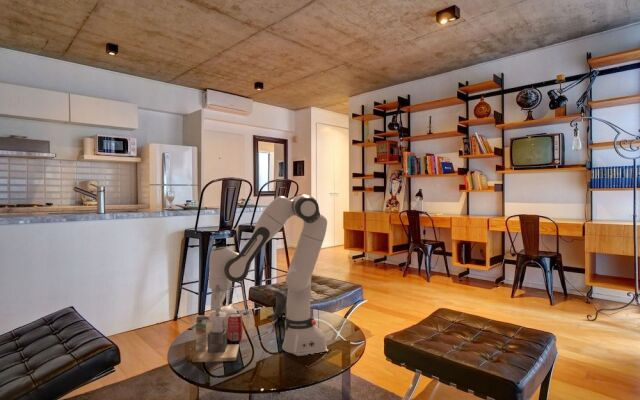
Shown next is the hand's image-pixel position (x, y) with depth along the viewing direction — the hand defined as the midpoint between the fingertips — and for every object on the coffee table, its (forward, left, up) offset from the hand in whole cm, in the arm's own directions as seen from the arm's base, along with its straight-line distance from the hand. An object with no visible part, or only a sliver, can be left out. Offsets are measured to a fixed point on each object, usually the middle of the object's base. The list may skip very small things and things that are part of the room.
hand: (218, 314), depth 163 cm
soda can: (-6, -15, -17) cm, 24 cm away
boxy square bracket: (+2, 0, -9) cm, 10 cm away
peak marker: (+7, +3, -3) cm, 8 cm away
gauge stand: (0, +2, -17) cm, 17 cm away
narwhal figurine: (-29, -46, -17) cm, 57 cm away
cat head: (0, -29, -17) cm, 34 cm away
